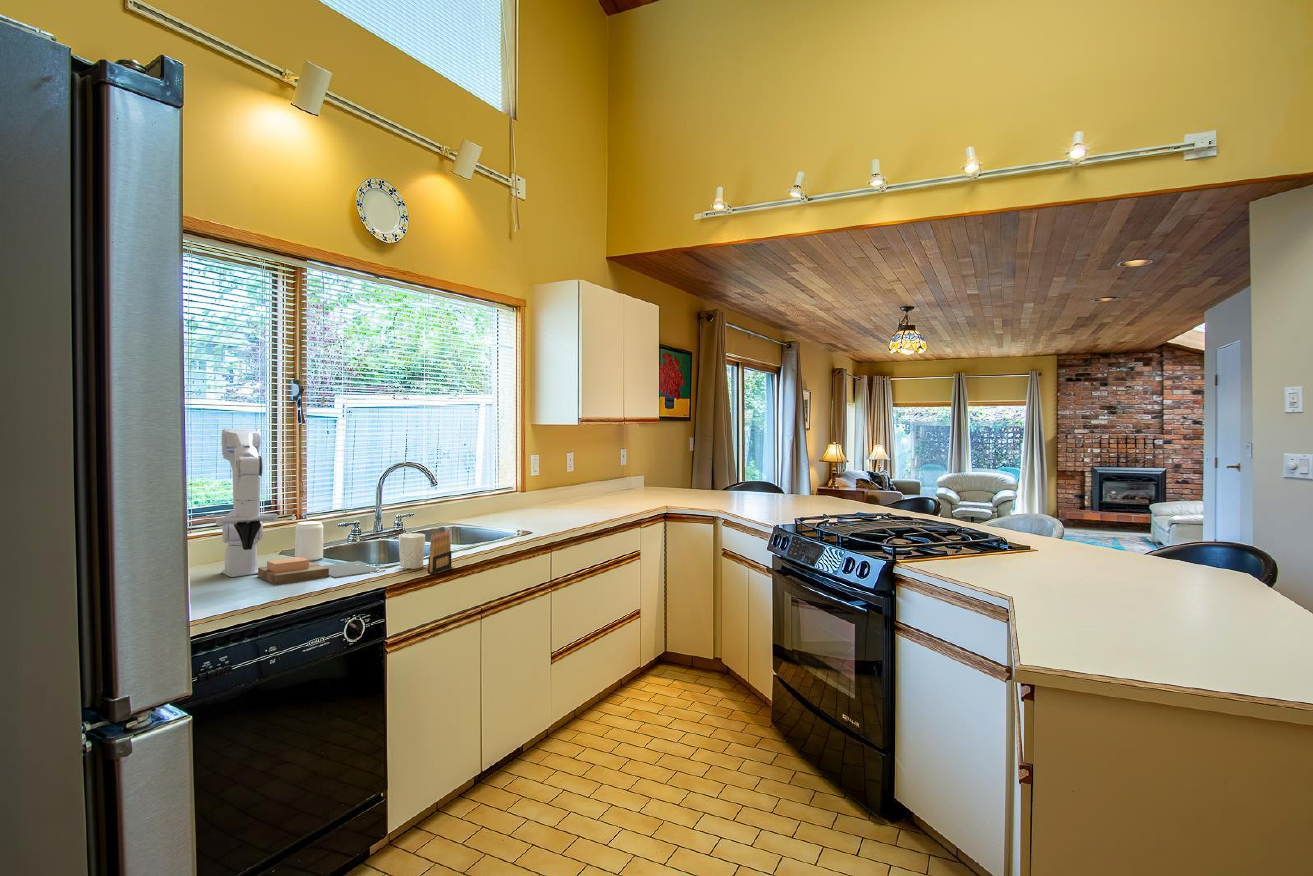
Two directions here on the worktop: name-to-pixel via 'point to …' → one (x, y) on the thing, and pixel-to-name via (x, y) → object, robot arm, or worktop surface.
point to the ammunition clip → (439, 552)
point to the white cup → (411, 550)
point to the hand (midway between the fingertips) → (247, 549)
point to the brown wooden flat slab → (294, 574)
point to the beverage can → (309, 540)
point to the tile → (287, 564)
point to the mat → (349, 569)
